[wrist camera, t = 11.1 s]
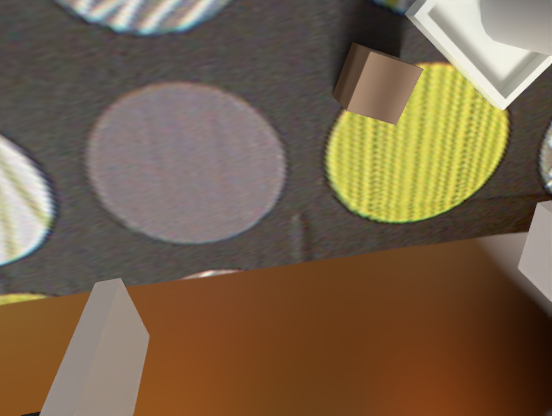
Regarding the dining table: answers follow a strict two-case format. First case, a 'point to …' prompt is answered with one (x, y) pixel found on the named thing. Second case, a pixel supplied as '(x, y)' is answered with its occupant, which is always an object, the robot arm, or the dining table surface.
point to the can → (519, 23)
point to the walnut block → (375, 84)
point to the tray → (477, 49)
